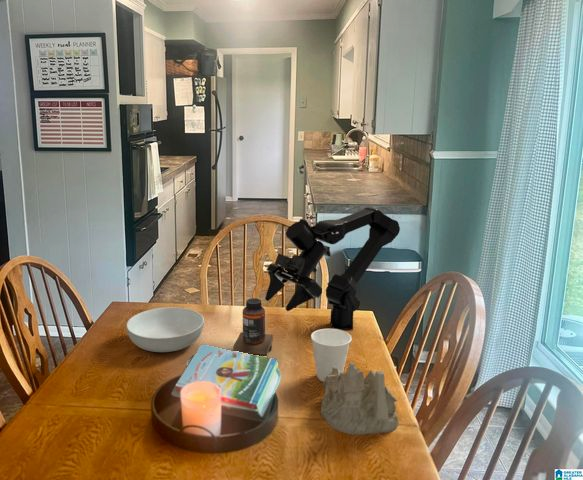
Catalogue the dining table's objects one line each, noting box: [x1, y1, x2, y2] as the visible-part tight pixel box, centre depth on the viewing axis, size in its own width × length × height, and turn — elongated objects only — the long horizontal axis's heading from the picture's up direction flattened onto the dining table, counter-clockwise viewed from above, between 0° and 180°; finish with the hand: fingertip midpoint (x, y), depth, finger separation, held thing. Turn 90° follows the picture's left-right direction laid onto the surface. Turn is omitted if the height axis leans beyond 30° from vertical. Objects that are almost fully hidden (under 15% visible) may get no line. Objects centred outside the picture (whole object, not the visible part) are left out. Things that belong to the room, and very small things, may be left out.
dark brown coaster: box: [232, 331, 274, 357], centre depth 140 cm, size 9×9×4 cm
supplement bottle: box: [242, 297, 266, 344], centre depth 138 cm, size 6×6×11 cm
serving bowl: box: [125, 306, 205, 353], centre depth 144 cm, size 21×21×7 cm
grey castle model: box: [320, 361, 400, 436], centre depth 113 cm, size 16×16×15 cm
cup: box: [310, 328, 353, 383], centre depth 128 cm, size 10×10×11 cm
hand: (276, 305), depth 142 cm, fingers open, 9 cm apart
